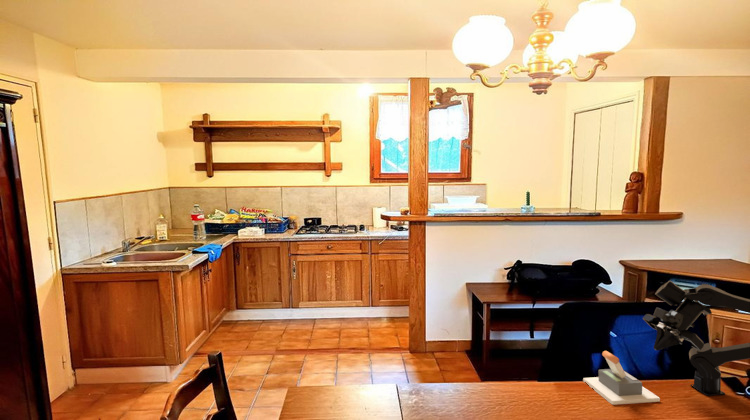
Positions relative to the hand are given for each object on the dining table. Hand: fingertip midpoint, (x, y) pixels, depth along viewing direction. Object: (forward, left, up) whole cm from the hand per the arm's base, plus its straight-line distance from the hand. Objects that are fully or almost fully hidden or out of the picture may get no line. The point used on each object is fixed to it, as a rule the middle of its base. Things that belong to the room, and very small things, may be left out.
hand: (655, 349), depth 130 cm
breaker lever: (+13, 0, -8) cm, 15 cm away
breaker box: (+13, 0, -14) cm, 19 cm away
